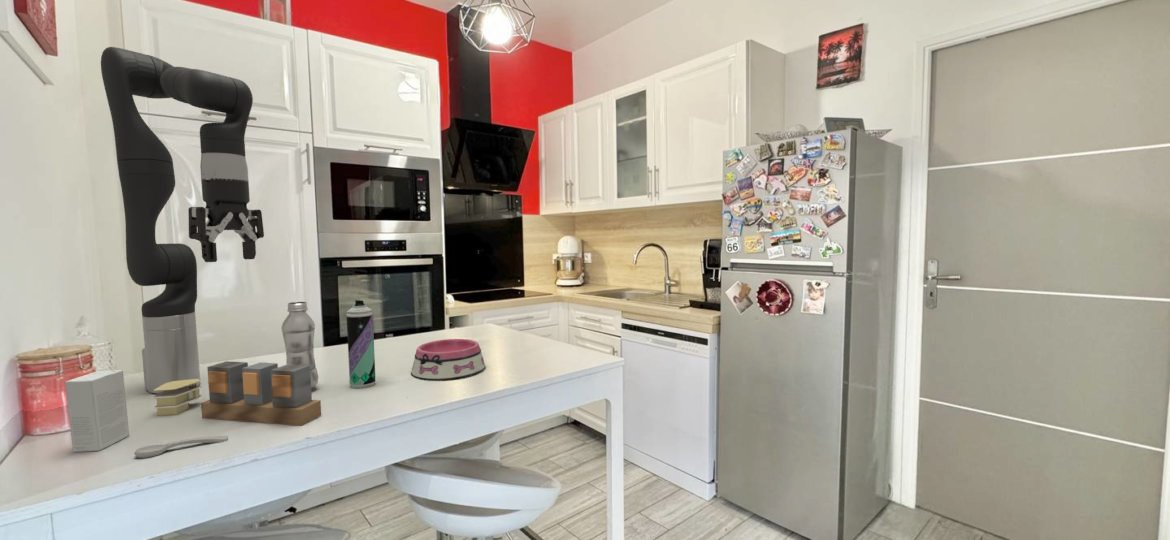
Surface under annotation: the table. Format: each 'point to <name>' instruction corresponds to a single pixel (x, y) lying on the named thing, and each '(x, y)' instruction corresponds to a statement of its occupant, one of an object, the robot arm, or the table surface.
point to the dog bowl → (447, 360)
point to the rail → (285, 408)
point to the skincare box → (97, 410)
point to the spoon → (159, 449)
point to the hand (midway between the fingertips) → (230, 260)
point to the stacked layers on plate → (176, 396)
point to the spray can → (361, 345)
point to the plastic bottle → (300, 338)
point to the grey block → (258, 383)
